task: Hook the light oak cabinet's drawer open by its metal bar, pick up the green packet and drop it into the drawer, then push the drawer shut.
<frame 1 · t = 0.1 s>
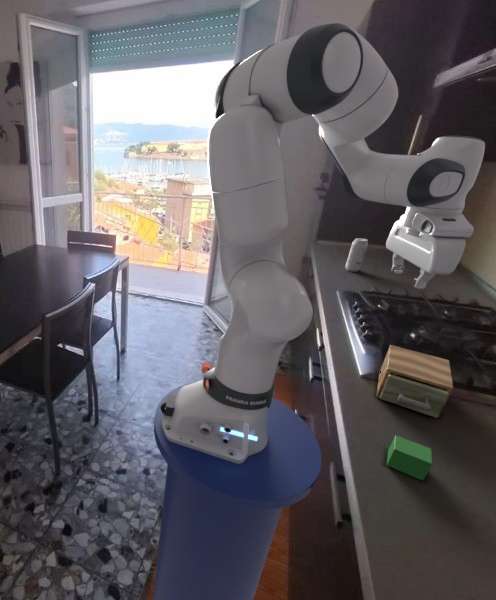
hand: (406, 279, 82), 29 cm above the worktop, tool pointing down, fingers open, 8 cm apart
cabinet: (406, 392, 90), on the worktop
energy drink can: (351, 270, 171), on the worktop
drawer: (412, 388, 85), point 4 cm above the worktop, slide at 0.5 cm
packet: (404, 465, 70), on the worktop
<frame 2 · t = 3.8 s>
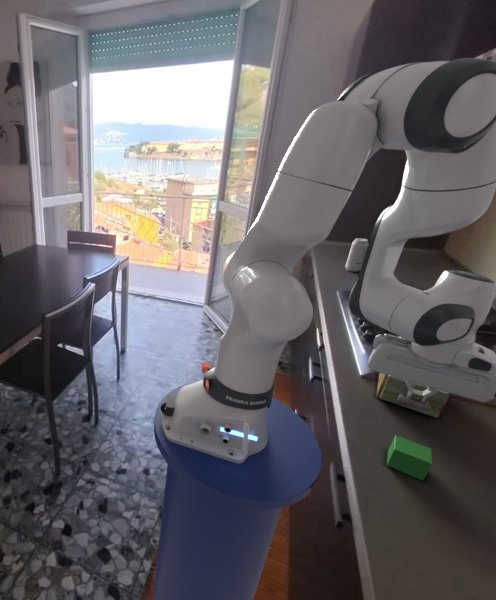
hand: (415, 398, 79), 6 cm above the worktop, tool pointing down, fingers closed, pressing on drawer
drawer: (412, 388, 85), point 4 cm above the worktop, slide at 0.5 cm, touching gripper
everything else where it was.
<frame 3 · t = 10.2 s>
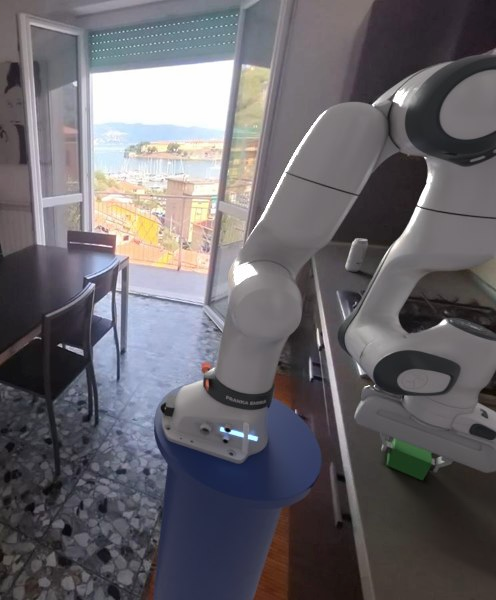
hand: (407, 459, 69), 2 cm above the worktop, tool pointing down, fingers closed on packet, 5 cm apart
drawer: (412, 405, 79), point 4 cm above the worktop, slide at 8.1 cm
packet: (404, 465, 70), on the worktop, touching gripper
everything else where it was.
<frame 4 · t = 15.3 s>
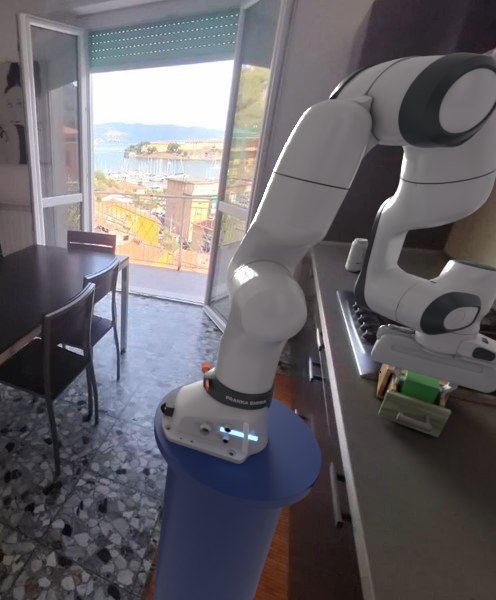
hand: (418, 389, 79), 8 cm above the worktop, tool pointing down, fingers closed on drawer, packet, 5 cm apart
drawer: (412, 405, 79), point 4 cm above the worktop, slide at 8.0 cm, touching gripper
packet: (415, 395, 80), point 6 cm above the worktop, touching gripper
everything else where it was.
when the fingers open (8 cm above the worktop, at t = 22.7 s): packet drops 5 cm, resting on drawer.
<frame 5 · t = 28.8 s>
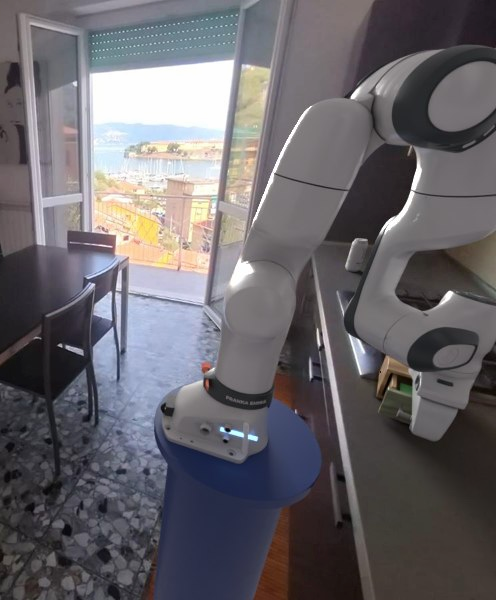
hand: (414, 427, 73), 5 cm above the worktop, tool pointing down, fingers closed
drawer: (412, 402, 80), point 4 cm above the worktop, slide at 6.8 cm, touching gripper, packet
packet: (408, 407, 82), point 2 cm above the worktop, touching drawer
everything else where it was.
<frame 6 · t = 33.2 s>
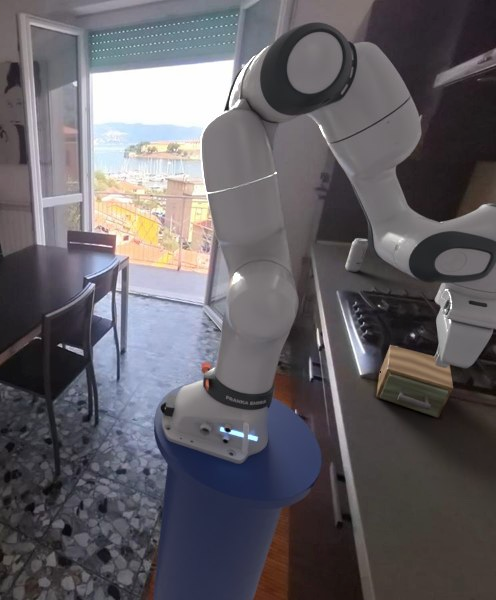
hand: (440, 363, 69), 19 cm above the worktop, tool pointing down, fingers closed
drawer: (412, 387, 85), point 4 cm above the worktop, slide at 0.0 cm, touching packet
packet: (408, 392, 87), point 2 cm above the worktop, touching drawer
everything else where it was.
at the end: drawer pulled out 8.1 cm at the most during the clip, back to where it started at the end; packet inside the target area in the cabinet (3.2 cm from its centre), point 2.0 cm above the cabinet's base; drawer slide at 0.0 cm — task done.
